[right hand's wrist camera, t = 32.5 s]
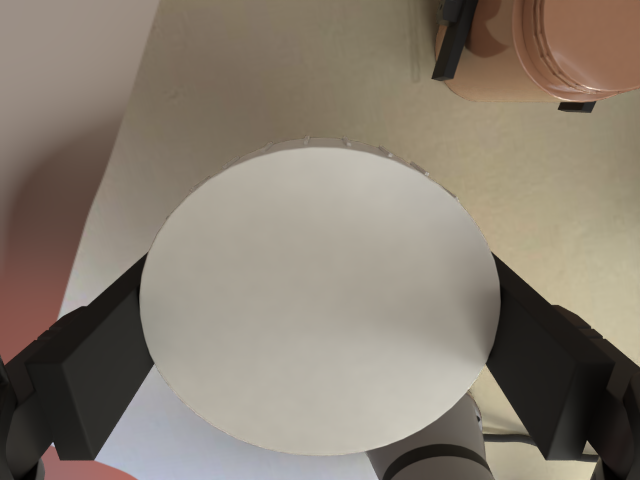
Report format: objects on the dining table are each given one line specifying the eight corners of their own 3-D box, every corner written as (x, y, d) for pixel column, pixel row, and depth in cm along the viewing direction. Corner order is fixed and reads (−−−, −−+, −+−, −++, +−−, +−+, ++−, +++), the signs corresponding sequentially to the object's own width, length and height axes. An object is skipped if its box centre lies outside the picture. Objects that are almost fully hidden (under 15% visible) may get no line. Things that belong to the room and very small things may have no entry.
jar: (413, 65, 32) (490, 35, 17) (482, -50, 29) (645, -201, 14) (497, 122, 33) (631, 137, 19) (570, 19, 30) (796, -55, 16)
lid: (532, 203, 11) (580, 226, 9) (394, 433, 15) (407, 487, 13) (208, 79, 10) (179, 74, 8) (143, 363, 13) (111, 411, 11)
